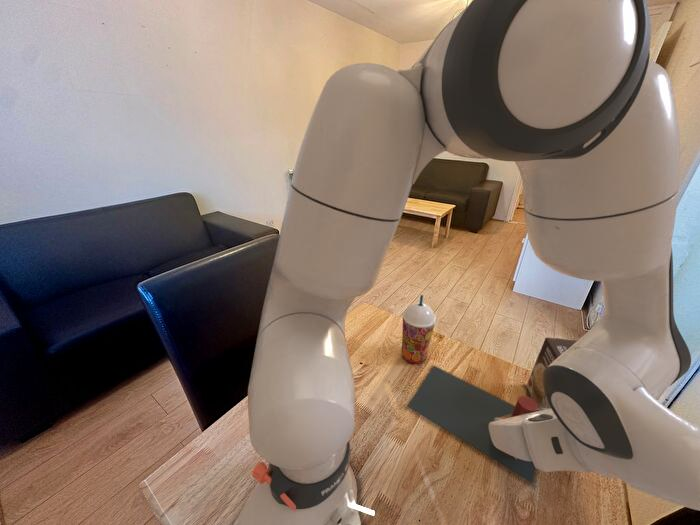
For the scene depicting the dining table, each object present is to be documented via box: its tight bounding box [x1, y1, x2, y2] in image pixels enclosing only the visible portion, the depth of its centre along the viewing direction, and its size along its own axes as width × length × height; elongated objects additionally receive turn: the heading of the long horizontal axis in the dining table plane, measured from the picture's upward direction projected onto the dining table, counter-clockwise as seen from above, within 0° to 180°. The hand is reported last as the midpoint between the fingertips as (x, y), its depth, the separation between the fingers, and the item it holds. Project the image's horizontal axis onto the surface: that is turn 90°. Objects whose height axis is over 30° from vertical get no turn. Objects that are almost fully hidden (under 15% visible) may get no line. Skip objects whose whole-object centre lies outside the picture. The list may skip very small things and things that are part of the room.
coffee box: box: [525, 337, 578, 409], centre depth 62 cm, size 9×6×16 cm
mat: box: [407, 365, 536, 484], centre depth 63 cm, size 15×25×1 cm, turn 52°
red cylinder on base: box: [494, 395, 538, 459], centre depth 55 cm, size 7×4×11 cm, turn 12°
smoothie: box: [401, 294, 437, 364], centre depth 74 cm, size 8×8×20 cm
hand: (518, 417), depth 56 cm, fingers open, 8 cm apart
